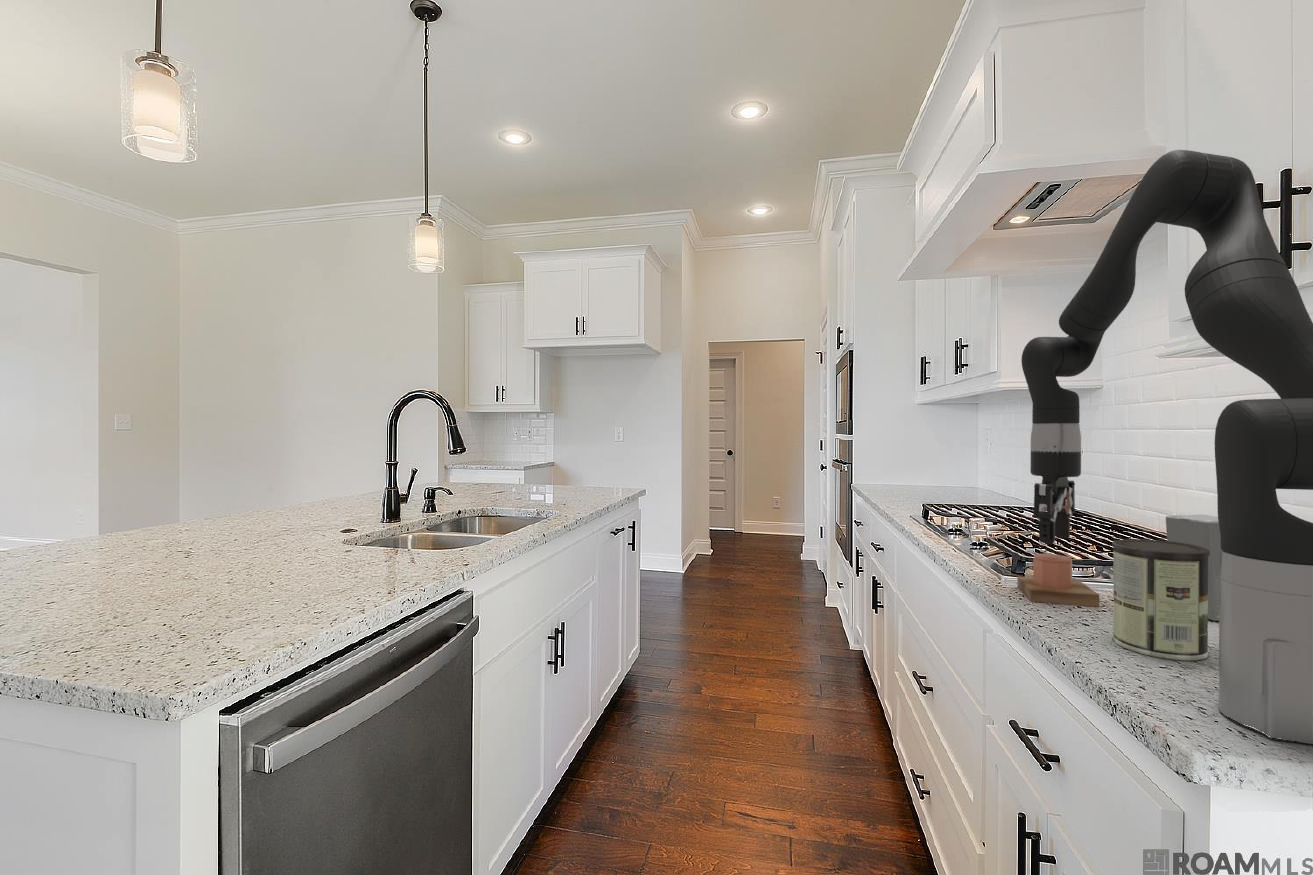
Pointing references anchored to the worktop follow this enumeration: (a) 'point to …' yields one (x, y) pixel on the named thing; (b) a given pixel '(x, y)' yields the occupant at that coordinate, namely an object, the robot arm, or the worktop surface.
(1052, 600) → the peg block
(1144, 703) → the worktop surface
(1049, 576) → the cap
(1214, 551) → the skincare box
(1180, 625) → the coffee can
